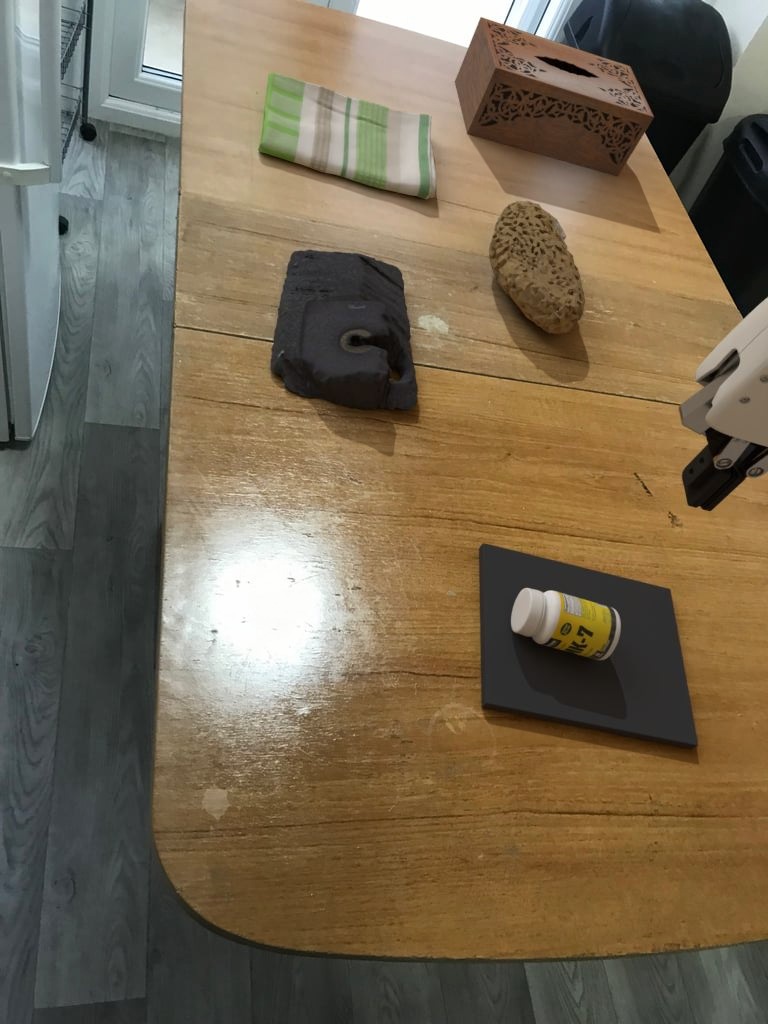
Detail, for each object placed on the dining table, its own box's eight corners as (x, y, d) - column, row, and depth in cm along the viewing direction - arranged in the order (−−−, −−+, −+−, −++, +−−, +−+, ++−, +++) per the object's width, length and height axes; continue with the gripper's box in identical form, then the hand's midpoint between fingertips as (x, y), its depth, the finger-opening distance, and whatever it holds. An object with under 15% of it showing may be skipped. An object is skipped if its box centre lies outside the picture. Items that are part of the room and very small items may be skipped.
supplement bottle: (598, 672, 73) (510, 648, 71) (590, 631, 77) (506, 607, 75) (626, 638, 70) (534, 612, 68) (617, 597, 74) (529, 572, 72)
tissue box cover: (467, 133, 123) (495, 67, 116) (454, 81, 131) (480, 16, 124) (617, 176, 131) (654, 117, 123) (597, 124, 139) (630, 66, 132)
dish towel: (432, 206, 109) (442, 183, 106) (256, 157, 103) (262, 130, 100) (425, 134, 119) (434, 111, 116) (265, 85, 113) (270, 59, 110)
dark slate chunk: (413, 286, 98) (428, 253, 95) (413, 425, 85) (430, 393, 81) (285, 249, 94) (295, 214, 91) (265, 388, 81) (276, 354, 78)
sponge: (480, 232, 111) (471, 294, 96) (516, 182, 107) (513, 238, 91) (558, 287, 115) (562, 355, 99) (596, 240, 110) (607, 304, 94)
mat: (664, 593, 83) (670, 588, 82) (691, 749, 73) (698, 745, 73) (478, 548, 79) (482, 542, 78) (481, 708, 69) (486, 703, 68)
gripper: (986, 286, 48) (774, 476, 62) (762, 207, 45) (592, 426, 59) (1040, 378, 44) (798, 560, 58) (796, 298, 40) (603, 511, 55)
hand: (694, 492), depth 58 cm, fingers closed
